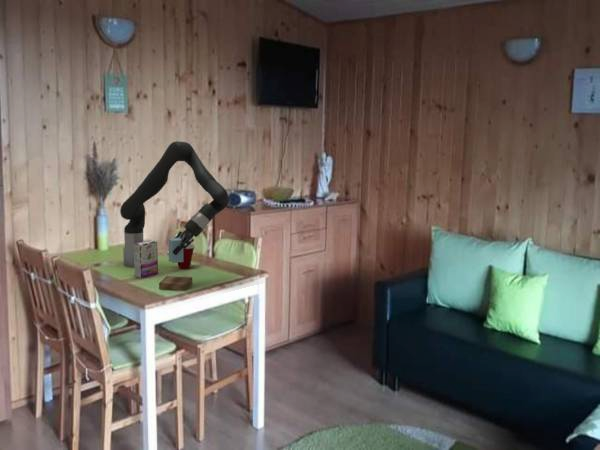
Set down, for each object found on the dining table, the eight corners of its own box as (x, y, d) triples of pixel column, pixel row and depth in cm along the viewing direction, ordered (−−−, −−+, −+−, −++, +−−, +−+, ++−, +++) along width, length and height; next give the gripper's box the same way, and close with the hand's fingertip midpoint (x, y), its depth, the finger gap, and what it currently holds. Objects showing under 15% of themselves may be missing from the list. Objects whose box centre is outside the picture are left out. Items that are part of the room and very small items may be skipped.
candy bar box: (151, 272, 295) (150, 239, 292) (158, 273, 292) (158, 240, 289) (133, 277, 286) (133, 243, 283) (141, 278, 283) (140, 244, 280)
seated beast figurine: (179, 251, 340) (178, 231, 338) (189, 254, 335) (189, 233, 333) (166, 254, 333) (166, 233, 331) (177, 257, 328) (176, 235, 326)
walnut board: (159, 289, 267) (159, 283, 266) (166, 282, 278) (166, 276, 278) (185, 290, 266) (185, 284, 265) (192, 283, 278) (192, 277, 277)
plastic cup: (190, 271, 299) (190, 247, 297) (170, 269, 302) (170, 245, 299) (198, 266, 310) (198, 243, 308) (178, 264, 312) (178, 241, 310)
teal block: (172, 262, 267) (172, 240, 265) (168, 260, 271) (168, 238, 269) (183, 261, 269) (183, 239, 267) (179, 259, 273) (179, 237, 272)
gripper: (185, 216, 276) (160, 244, 272) (197, 221, 264) (171, 250, 260) (196, 226, 280) (172, 254, 276) (208, 232, 268) (183, 261, 264)
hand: (172, 252), depth 268 cm, fingers closed on teal block, 5 cm apart
